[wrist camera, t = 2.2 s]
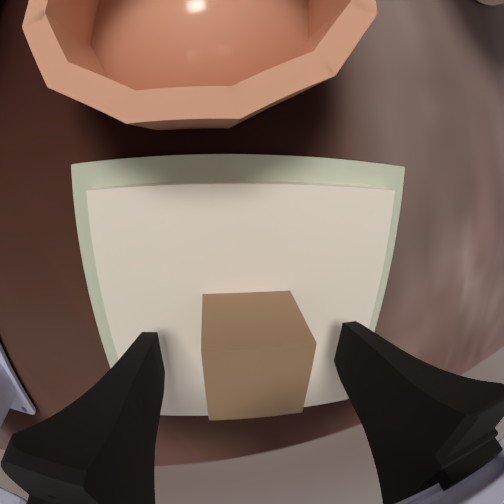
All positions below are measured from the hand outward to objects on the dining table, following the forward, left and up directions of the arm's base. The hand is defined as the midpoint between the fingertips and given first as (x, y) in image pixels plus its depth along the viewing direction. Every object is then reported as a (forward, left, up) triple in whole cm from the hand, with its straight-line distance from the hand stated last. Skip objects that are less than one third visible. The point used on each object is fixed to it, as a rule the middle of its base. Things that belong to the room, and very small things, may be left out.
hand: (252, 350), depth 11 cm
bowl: (-2, +13, -3) cm, 13 cm away
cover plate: (0, 0, -2) cm, 2 cm away
